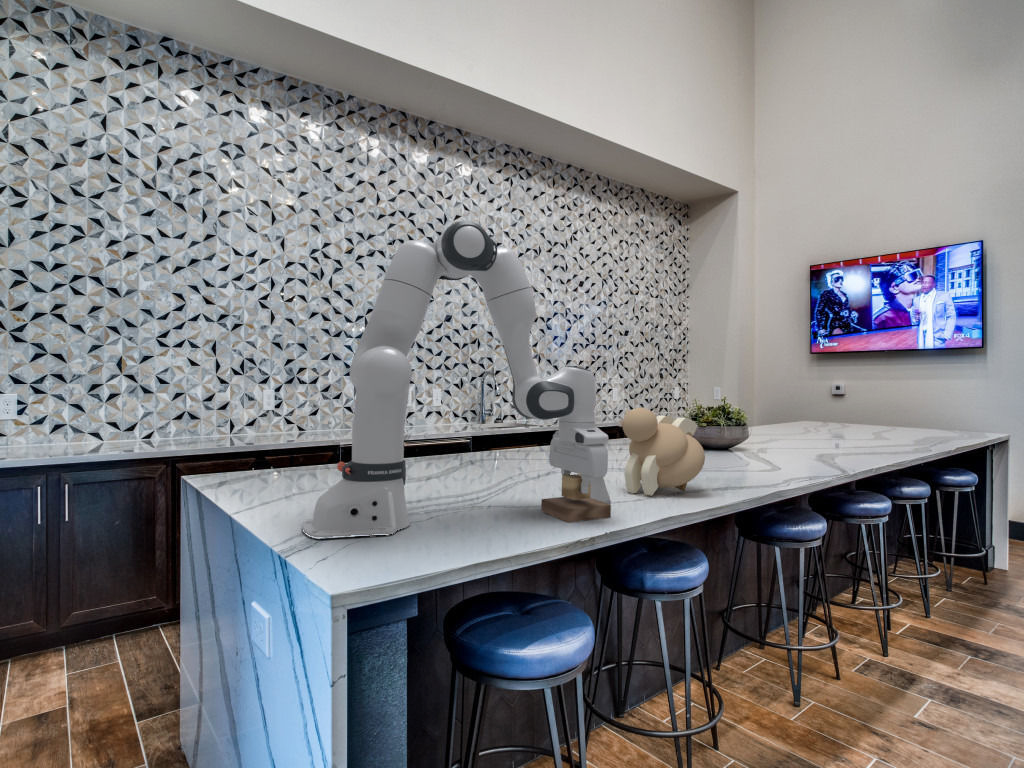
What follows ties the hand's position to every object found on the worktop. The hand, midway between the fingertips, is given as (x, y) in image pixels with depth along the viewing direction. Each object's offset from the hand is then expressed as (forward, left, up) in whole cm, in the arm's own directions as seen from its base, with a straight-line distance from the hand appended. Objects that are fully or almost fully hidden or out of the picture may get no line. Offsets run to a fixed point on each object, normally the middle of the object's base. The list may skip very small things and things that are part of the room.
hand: (575, 490), depth 140 cm
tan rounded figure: (+40, +13, -6) cm, 42 cm away
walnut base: (0, 0, -6) cm, 6 cm away
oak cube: (0, 0, -2) cm, 2 cm away
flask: (+13, +9, -6) cm, 17 cm away
